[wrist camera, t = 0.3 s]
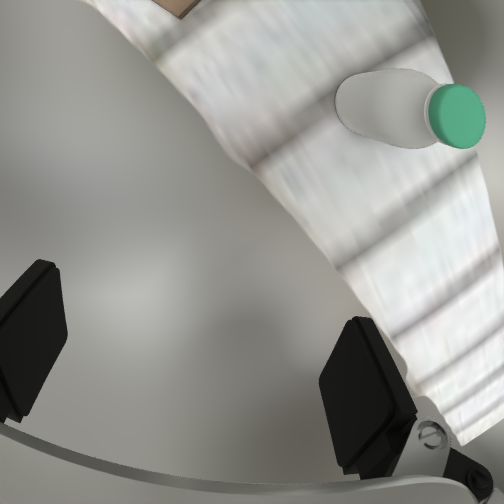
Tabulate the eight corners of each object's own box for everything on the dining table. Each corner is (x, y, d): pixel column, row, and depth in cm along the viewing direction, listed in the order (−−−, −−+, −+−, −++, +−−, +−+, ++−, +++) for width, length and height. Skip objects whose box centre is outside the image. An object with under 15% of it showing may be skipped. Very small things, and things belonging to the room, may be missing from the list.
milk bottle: (355, 146, 37) (448, 192, 19) (321, 94, 34) (399, 91, 16) (401, 115, 35) (512, 141, 17) (370, 63, 32) (474, 46, 14)
